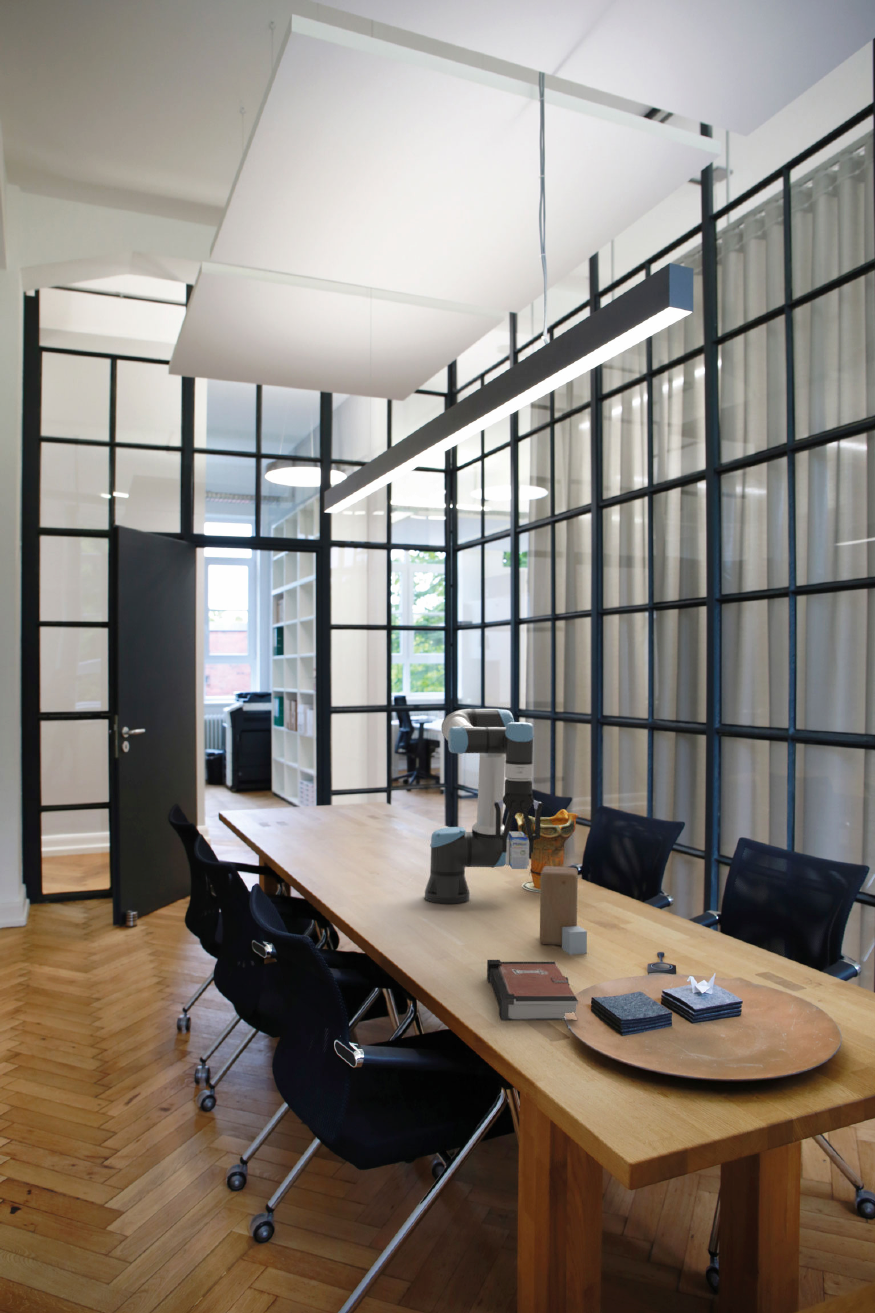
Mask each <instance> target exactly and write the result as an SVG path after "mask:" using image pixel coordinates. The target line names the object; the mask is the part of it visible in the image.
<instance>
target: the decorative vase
mask: <svg viewBox="0 0 875 1313" xmlns="http://www.w3.org/2000/svg"><path fill="white" fill-rule="evenodd" d="M528 816H529V821H530V826H531V830H532V835H534V834H535V817H533V816H530V815H528ZM578 817H579V816H578V814H577V813H573V812H568V811H567V810H566V809H563V808H562V809H560V810H559V811H557V813H556V814H555V815H553V816H551V817H547V816H545V817H543V816H541V819H540V839H536V840H534V841H533V853H530V871H529V875H528V876H531V880H532V881H528V879H527V881H525V882H522V884H521V888H523V889H524V890H527V891H530V892H535V893H540V884H541V873H542V870H543V868H544V867H545V866H553V867H564V863H565V862H564V861H565V860H564V858H565V843H566V841H567V840H568V839H569V838H570V837H571V836H572V835H573V833H574V832H575V830H576V827H577V826H576V824H577V822H576V820H577V818H578ZM514 819H515V821H516V823H517V830H518V832H523V833H524V834H525V835H526V837H527V838H528V835H527V831H526V826H525V821H524V817H523V814H521V813H516V814H514ZM530 874H531V875H530Z"/></svg>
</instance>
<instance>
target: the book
mask: <svg viewBox="0 0 875 1313" xmlns="http://www.w3.org/2000/svg"><path fill="white" fill-rule="evenodd" d="M486 962H487V963H486V965H487V966H486V967H487V968H486V970H487V971H486V979H487V982H488V984H491V986H492V990H493V993H494V996H495V999H496V1002H497V1005H498V1008H499V1012H498V1015H499V1019H500V1021H505V1022H506V1021H508V1022H509V1021H512V1022H513V1021H514V1022H516V1021H566V1020H565V1018H564V1016H565V1013H572V1012H574V1013H575V1012H576V1013H577V1005H579V1000H578V999H577V996H576V995H575V993H574V992H573V990H572V989H571V987H570V983H569V978H568V977H567V976H565V975H563V973H562V972H561V970H560V969H559V967H558V965H557V963H556V961H501V959H487V961H486Z"/></svg>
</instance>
